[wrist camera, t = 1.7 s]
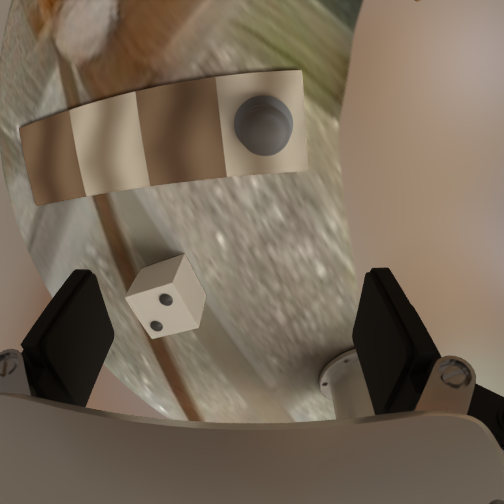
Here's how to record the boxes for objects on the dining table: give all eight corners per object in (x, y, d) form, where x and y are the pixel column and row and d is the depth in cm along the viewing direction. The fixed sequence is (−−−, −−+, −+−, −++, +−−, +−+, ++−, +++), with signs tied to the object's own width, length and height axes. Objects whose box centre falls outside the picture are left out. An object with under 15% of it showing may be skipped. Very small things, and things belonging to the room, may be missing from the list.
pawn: (289, 93, 27) (303, 92, 19) (293, 148, 30) (308, 170, 21) (231, 98, 27) (220, 99, 19) (237, 153, 30) (229, 176, 22)
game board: (300, 70, 27) (301, 70, 26) (307, 169, 31) (308, 170, 31) (21, 127, 28) (18, 128, 28) (38, 204, 33) (36, 206, 33)
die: (184, 253, 36) (172, 283, 30) (206, 295, 38) (198, 328, 33) (141, 268, 37) (123, 298, 31) (164, 307, 39) (151, 339, 34)
